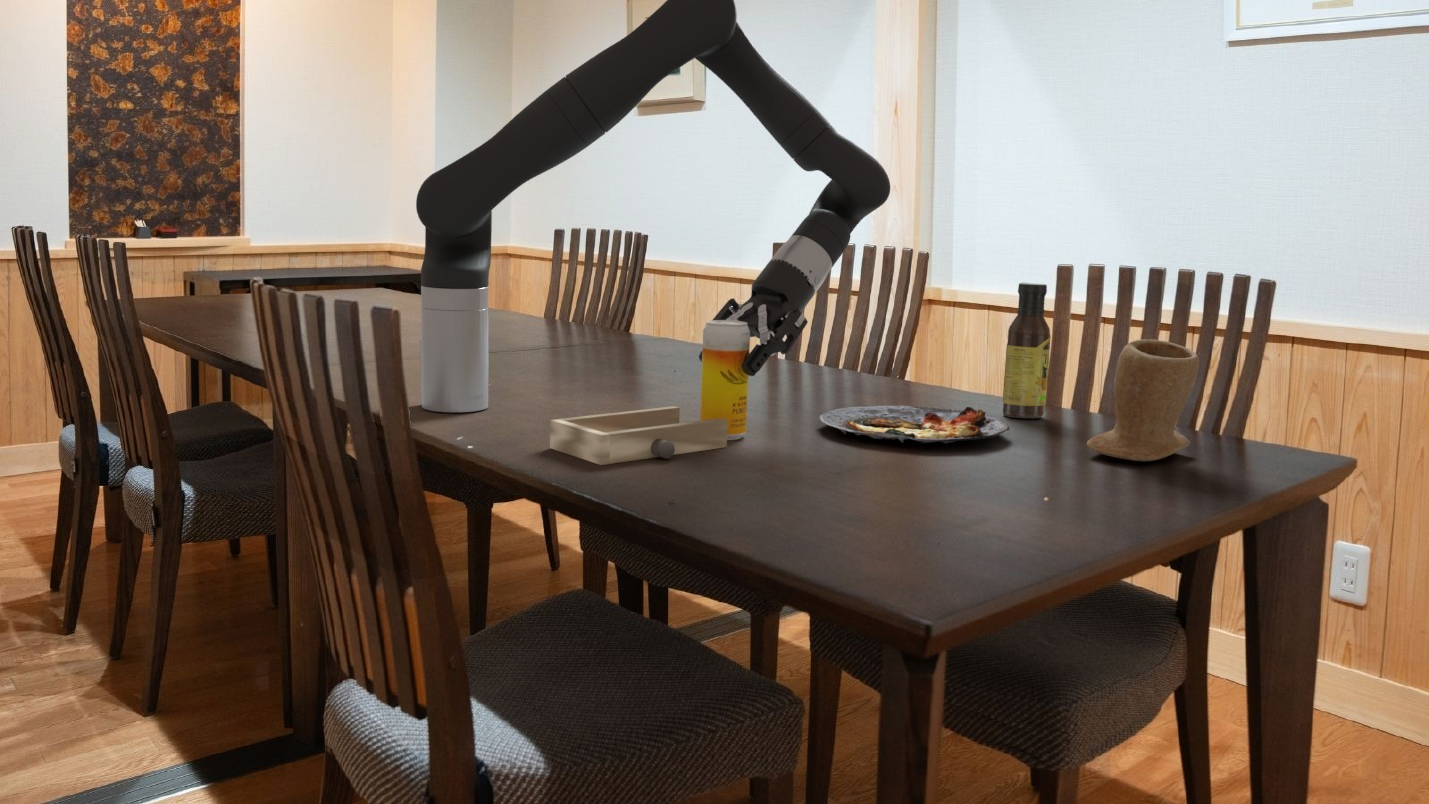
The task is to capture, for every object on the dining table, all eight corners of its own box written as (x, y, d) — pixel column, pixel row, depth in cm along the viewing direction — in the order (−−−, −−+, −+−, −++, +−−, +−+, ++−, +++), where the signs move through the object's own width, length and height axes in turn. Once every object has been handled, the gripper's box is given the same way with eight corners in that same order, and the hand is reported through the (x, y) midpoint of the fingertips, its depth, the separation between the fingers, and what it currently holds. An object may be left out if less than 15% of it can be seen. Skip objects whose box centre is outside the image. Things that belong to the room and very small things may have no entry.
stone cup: (1165, 474, 146) (1178, 350, 143) (1073, 457, 154) (1084, 339, 151) (1213, 457, 157) (1226, 342, 154) (1125, 442, 165) (1135, 332, 162)
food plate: (1023, 429, 170) (1024, 404, 170) (986, 461, 149) (987, 433, 149) (853, 415, 181) (854, 392, 180) (797, 443, 160) (797, 417, 159)
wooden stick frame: (541, 445, 149) (541, 417, 148) (663, 429, 161) (664, 403, 161) (611, 468, 138) (611, 438, 137) (737, 449, 150) (738, 422, 150)
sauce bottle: (1048, 421, 178) (1059, 285, 174) (1005, 419, 178) (1015, 284, 175) (1039, 413, 184) (1050, 282, 181) (998, 411, 184) (1008, 280, 181)
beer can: (741, 442, 155) (746, 326, 152) (695, 439, 156) (698, 323, 154) (749, 433, 161) (754, 321, 158) (704, 430, 162) (708, 318, 159)
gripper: (743, 254, 165) (675, 341, 160) (817, 261, 155) (747, 355, 149) (769, 292, 170) (704, 378, 164) (843, 301, 159) (776, 394, 154)
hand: (724, 367), depth 157 cm, fingers open, 8 cm apart
